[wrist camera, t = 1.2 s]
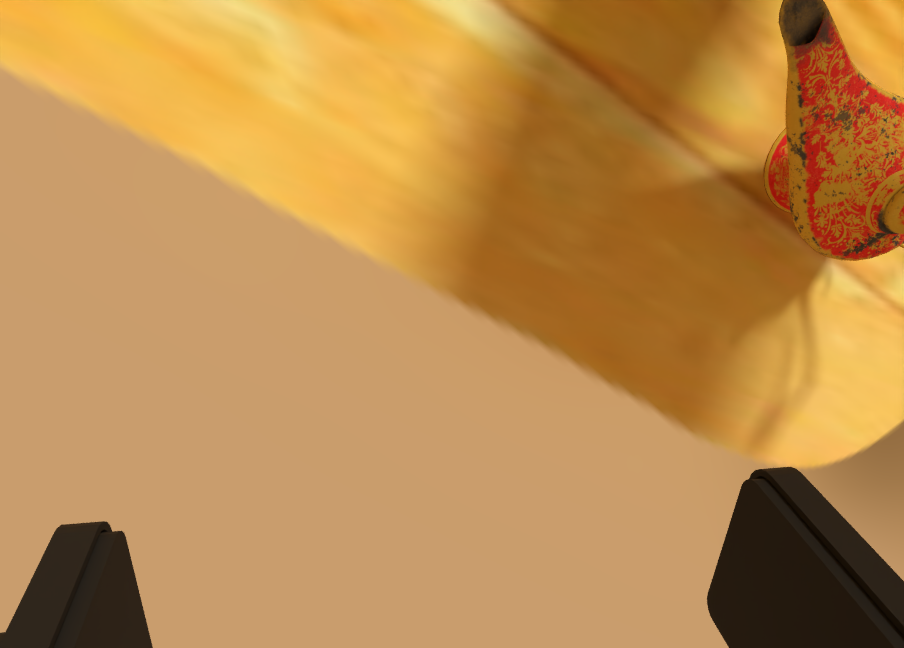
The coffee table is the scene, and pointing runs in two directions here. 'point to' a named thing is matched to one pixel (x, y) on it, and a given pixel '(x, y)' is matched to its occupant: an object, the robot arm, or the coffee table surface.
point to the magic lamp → (836, 144)
